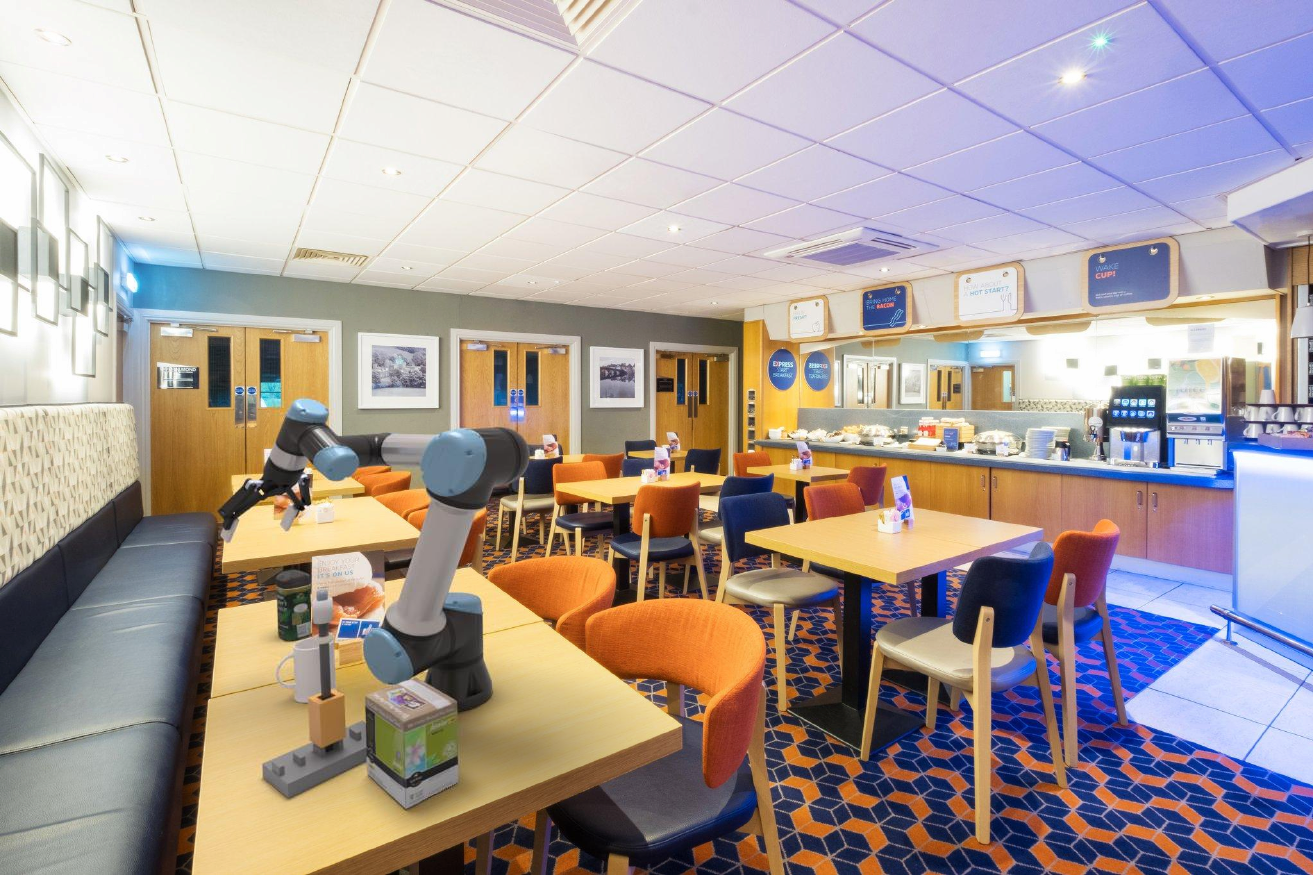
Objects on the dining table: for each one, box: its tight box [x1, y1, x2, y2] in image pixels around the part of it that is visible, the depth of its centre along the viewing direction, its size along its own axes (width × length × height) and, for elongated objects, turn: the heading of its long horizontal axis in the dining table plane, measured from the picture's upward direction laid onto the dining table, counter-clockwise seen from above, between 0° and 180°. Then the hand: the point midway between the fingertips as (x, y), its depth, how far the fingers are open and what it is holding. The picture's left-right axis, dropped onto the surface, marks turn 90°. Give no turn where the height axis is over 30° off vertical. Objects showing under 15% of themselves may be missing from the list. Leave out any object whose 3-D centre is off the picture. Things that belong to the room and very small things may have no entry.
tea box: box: [364, 677, 459, 810], centre depth 107 cm, size 15×10×15 cm, turn 48°
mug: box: [275, 636, 338, 704], centre depth 138 cm, size 12×8×12 cm
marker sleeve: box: [307, 689, 347, 748], centre depth 112 cm, size 4×4×8 cm
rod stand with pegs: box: [261, 589, 367, 799], centre depth 111 cm, size 18×10×32 cm, turn 144°
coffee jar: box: [275, 569, 312, 641], centre depth 174 cm, size 10×8×19 cm
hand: (255, 533), depth 143 cm, fingers open, 13 cm apart
